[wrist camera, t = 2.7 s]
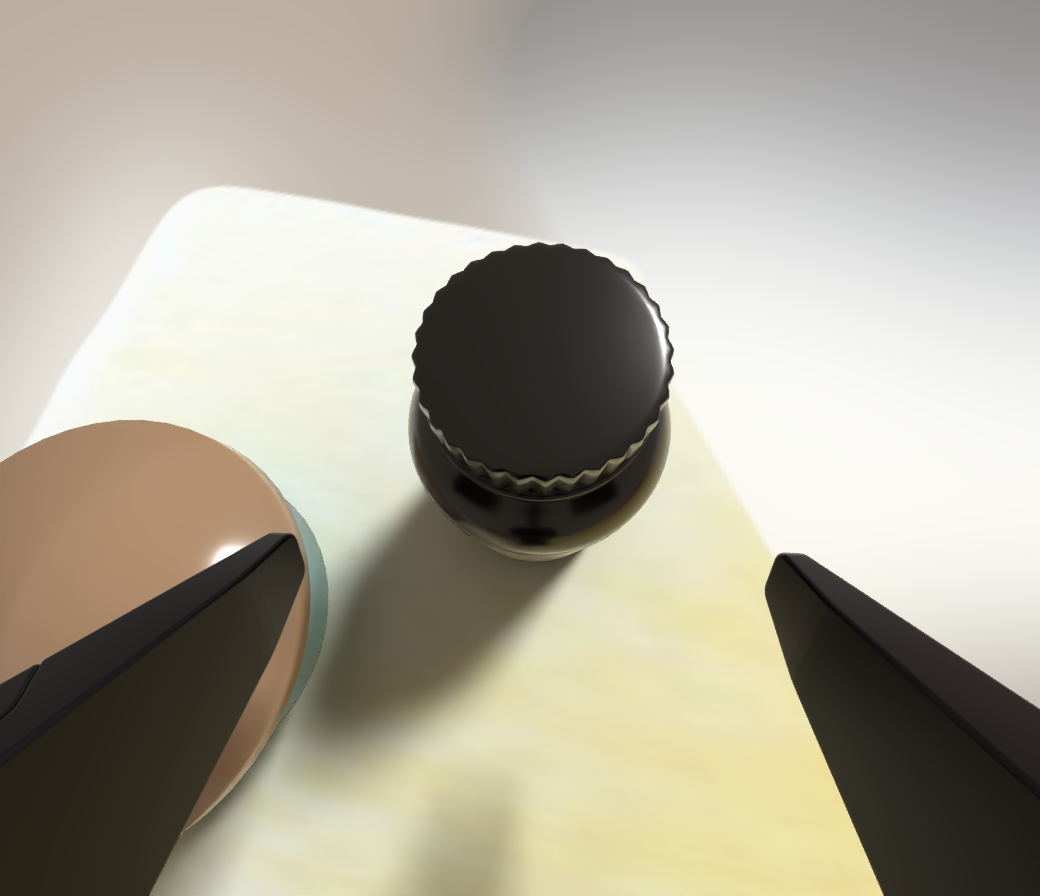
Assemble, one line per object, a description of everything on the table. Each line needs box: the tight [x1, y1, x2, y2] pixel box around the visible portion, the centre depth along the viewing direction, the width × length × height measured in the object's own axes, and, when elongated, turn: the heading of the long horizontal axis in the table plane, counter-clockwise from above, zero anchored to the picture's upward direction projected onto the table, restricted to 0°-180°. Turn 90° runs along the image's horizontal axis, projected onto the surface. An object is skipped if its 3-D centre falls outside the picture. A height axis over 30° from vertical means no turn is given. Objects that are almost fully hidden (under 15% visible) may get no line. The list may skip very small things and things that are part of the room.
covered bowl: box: [0, 420, 328, 835], centre depth 16 cm, size 14×14×4 cm
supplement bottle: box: [408, 242, 674, 562], centre depth 14 cm, size 7×7×12 cm
